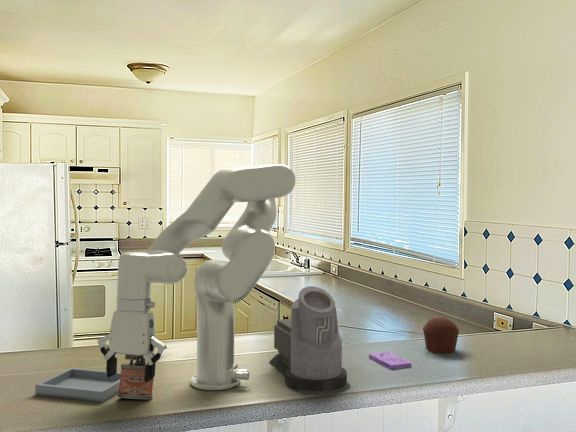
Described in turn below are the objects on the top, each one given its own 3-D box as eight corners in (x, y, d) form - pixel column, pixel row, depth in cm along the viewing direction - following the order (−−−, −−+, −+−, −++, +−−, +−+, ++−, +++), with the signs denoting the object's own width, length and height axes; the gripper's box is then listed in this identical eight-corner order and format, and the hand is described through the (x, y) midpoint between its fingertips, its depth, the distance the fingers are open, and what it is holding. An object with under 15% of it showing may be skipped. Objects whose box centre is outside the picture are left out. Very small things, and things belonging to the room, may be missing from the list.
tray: (133, 383, 144) (133, 373, 144) (102, 402, 131) (102, 391, 130) (71, 377, 148) (71, 367, 148) (35, 395, 135) (35, 384, 135)
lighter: (153, 397, 135) (157, 354, 136) (150, 399, 132) (155, 356, 133) (119, 394, 134) (124, 352, 136) (115, 397, 131) (120, 353, 132)
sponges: (388, 356, 173) (388, 350, 172) (412, 368, 161) (412, 362, 161) (368, 359, 170) (368, 353, 170) (391, 371, 158) (391, 364, 158)
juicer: (360, 390, 141) (362, 293, 140) (301, 398, 135) (302, 296, 134) (311, 358, 169) (313, 276, 168) (261, 363, 163) (261, 279, 162)
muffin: (424, 343, 187) (424, 313, 186) (459, 346, 183) (459, 316, 183) (420, 353, 175) (421, 321, 175) (458, 356, 172) (458, 324, 171)
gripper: (174, 305, 134) (171, 377, 134) (108, 299, 138) (105, 369, 138) (159, 311, 126) (156, 387, 126) (91, 304, 130) (88, 378, 131)
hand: (130, 378), depth 132 cm, fingers open, 9 cm apart
